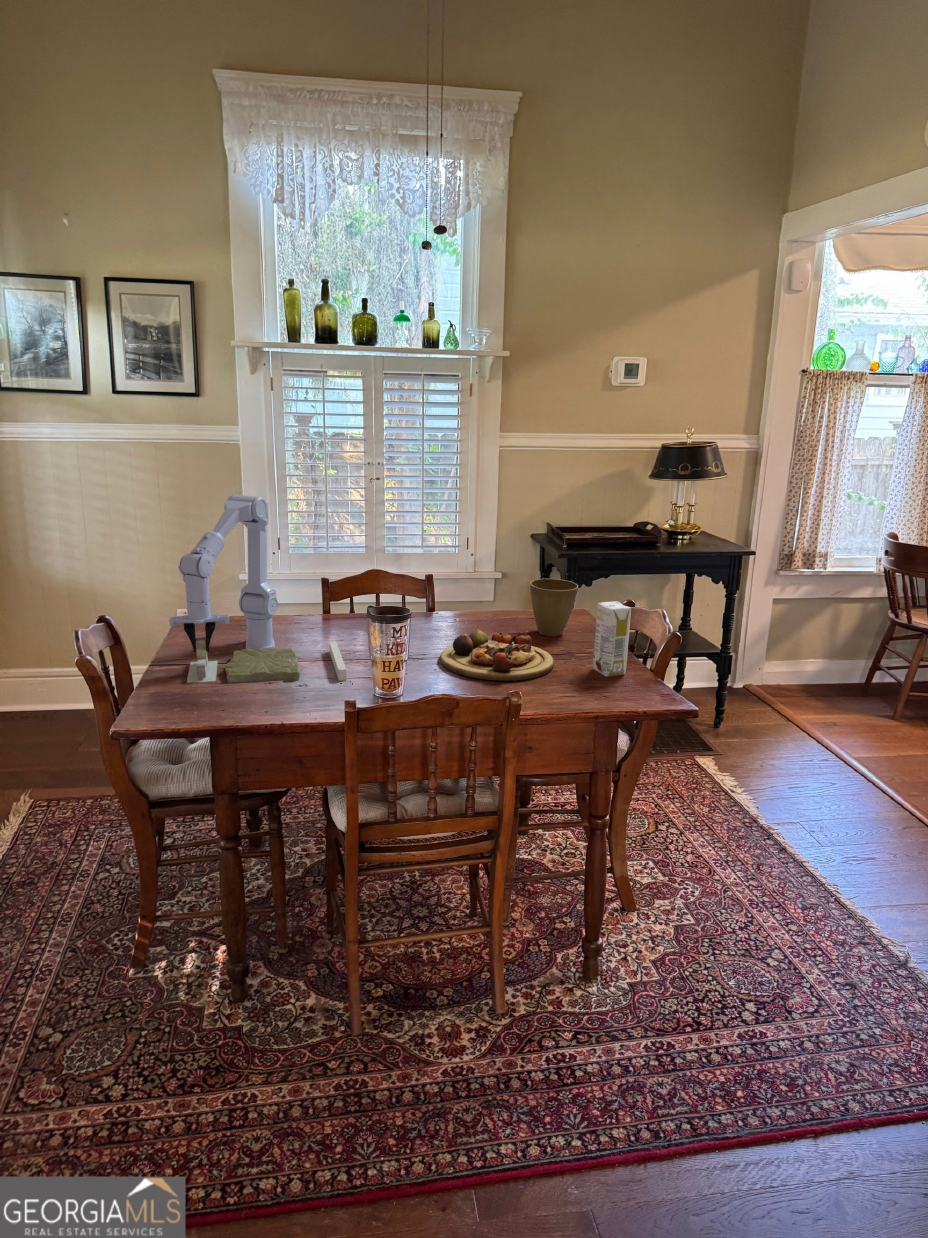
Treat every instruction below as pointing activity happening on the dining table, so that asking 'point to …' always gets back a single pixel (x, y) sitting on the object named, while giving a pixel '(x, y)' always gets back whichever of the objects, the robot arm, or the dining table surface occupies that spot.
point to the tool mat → (209, 673)
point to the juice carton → (611, 638)
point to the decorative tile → (263, 665)
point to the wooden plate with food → (496, 657)
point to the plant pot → (552, 604)
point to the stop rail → (337, 661)
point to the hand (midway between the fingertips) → (201, 650)
